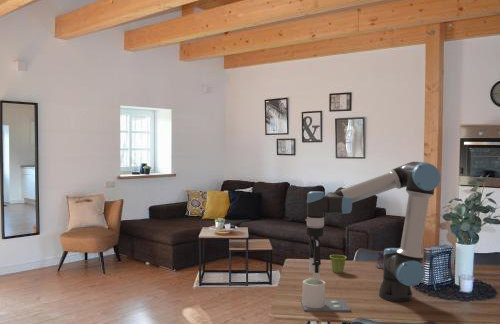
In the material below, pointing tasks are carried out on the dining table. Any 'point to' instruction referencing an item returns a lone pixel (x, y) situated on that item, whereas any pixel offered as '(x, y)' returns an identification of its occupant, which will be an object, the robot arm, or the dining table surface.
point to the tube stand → (320, 299)
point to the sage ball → (311, 281)
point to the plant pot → (338, 263)
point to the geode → (380, 261)
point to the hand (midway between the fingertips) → (314, 275)
